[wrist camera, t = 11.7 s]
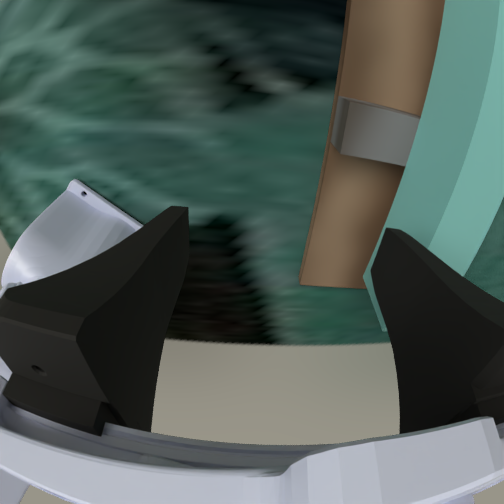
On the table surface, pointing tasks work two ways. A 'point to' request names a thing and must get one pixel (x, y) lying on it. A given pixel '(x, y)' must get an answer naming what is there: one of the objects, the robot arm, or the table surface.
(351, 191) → the balance board
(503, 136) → the batten
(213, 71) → the table surface
